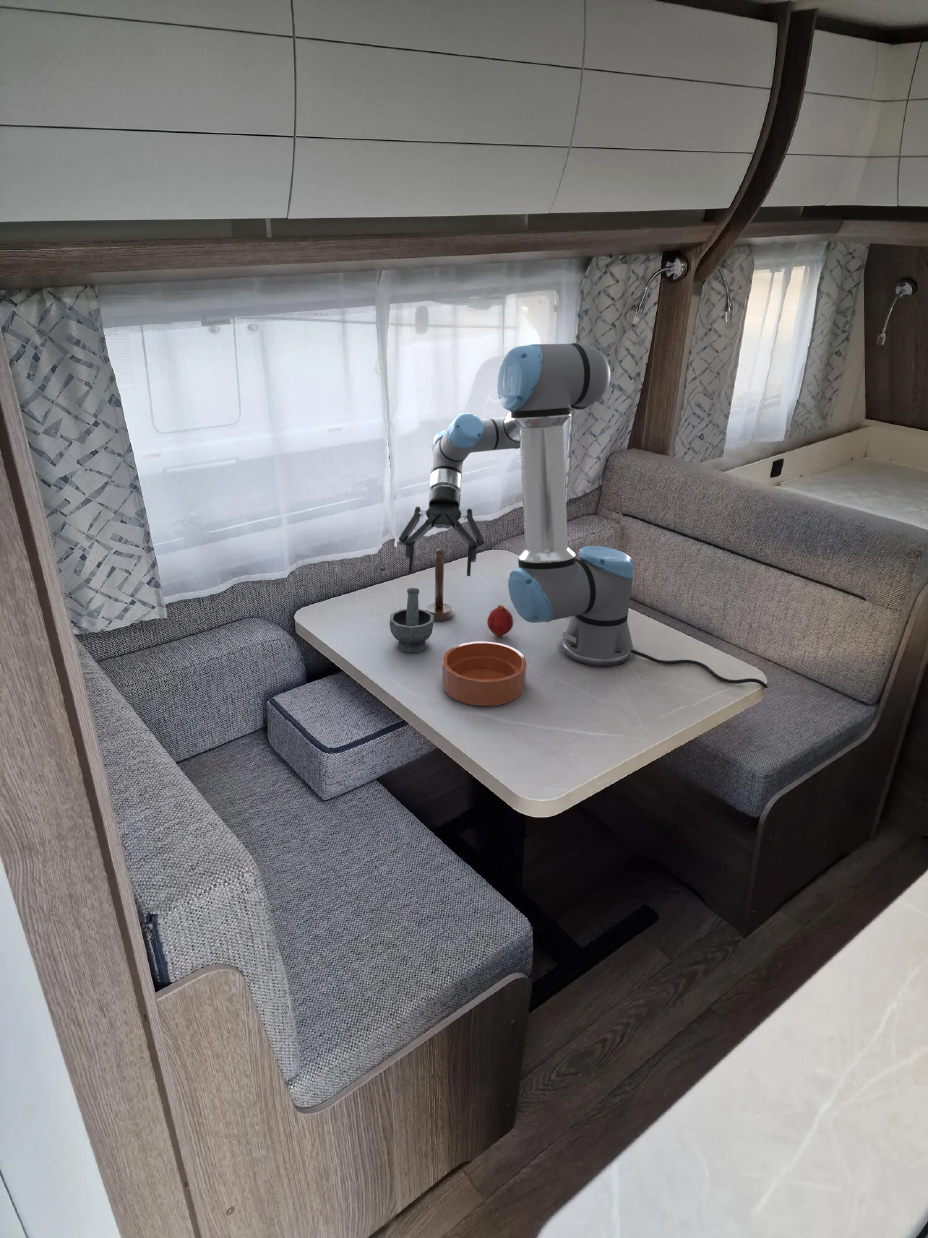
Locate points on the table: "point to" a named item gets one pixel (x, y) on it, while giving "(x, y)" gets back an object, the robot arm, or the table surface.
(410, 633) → the mortar and pestle
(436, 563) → the wooden peg stand
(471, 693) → the bowl
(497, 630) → the onion
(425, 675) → the table surface
